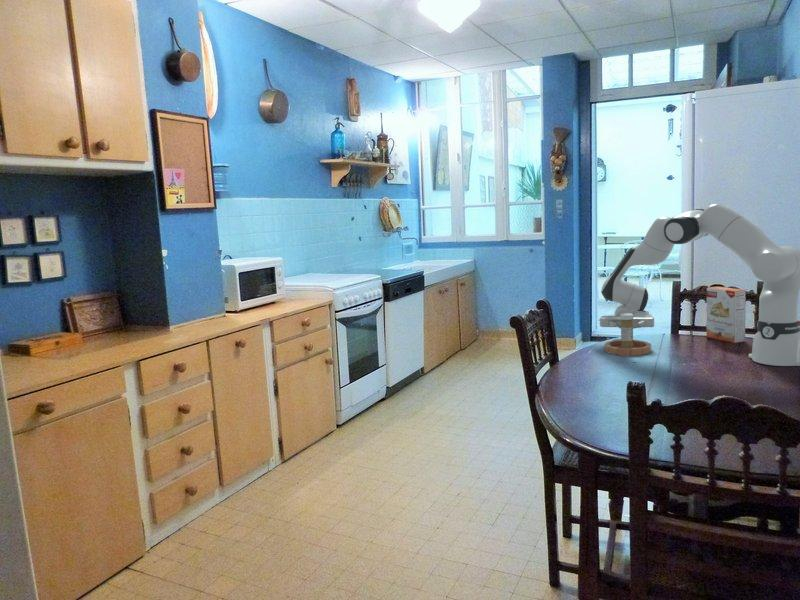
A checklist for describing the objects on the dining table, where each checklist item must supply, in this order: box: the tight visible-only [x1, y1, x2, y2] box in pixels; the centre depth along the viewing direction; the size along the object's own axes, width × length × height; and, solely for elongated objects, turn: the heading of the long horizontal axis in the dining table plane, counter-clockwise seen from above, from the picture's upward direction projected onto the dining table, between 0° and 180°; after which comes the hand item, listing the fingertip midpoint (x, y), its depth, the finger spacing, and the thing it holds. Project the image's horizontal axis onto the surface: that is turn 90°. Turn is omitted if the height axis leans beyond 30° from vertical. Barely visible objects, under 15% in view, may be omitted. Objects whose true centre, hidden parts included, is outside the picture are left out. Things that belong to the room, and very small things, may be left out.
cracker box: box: [706, 286, 747, 344], centre depth 239 cm, size 14×6×21 cm, turn 17°
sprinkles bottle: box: [620, 313, 634, 348], centre depth 232 cm, size 5×5×14 cm
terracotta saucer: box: [603, 339, 652, 357], centre depth 233 cm, size 17×17×2 cm
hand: (627, 325), depth 231 cm, fingers open, 8 cm apart
